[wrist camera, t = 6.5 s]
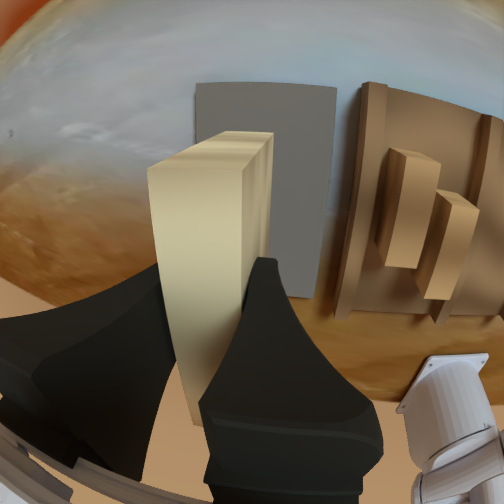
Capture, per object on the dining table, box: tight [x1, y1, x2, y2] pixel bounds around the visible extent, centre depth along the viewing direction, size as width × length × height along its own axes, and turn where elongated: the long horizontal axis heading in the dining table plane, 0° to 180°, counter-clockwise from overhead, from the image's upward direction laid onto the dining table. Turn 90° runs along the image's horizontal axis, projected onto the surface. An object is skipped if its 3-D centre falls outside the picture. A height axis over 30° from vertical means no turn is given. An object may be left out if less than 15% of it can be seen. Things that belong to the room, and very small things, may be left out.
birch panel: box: [147, 131, 274, 427], centre depth 11 cm, size 10×2×7 cm, turn 179°
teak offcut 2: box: [411, 189, 480, 300], centre depth 16 cm, size 6×2×3 cm, turn 178°
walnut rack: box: [332, 82, 504, 324], centre depth 16 cm, size 15×17×2 cm
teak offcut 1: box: [374, 147, 441, 269], centre depth 15 cm, size 6×2×3 cm, turn 179°
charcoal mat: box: [196, 82, 337, 298], centre depth 18 cm, size 14×8×1 cm, turn 179°
